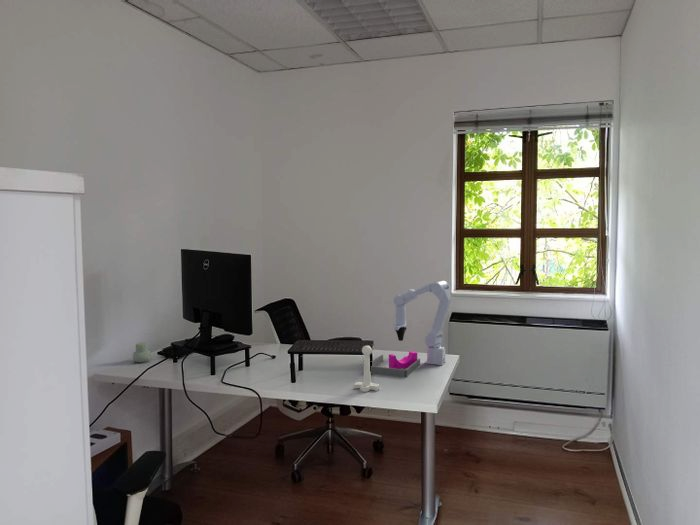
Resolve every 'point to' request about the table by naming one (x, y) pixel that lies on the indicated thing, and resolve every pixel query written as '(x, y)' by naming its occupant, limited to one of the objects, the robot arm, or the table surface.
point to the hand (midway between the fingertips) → (400, 340)
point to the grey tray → (391, 370)
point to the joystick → (366, 373)
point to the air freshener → (141, 353)
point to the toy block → (402, 360)
